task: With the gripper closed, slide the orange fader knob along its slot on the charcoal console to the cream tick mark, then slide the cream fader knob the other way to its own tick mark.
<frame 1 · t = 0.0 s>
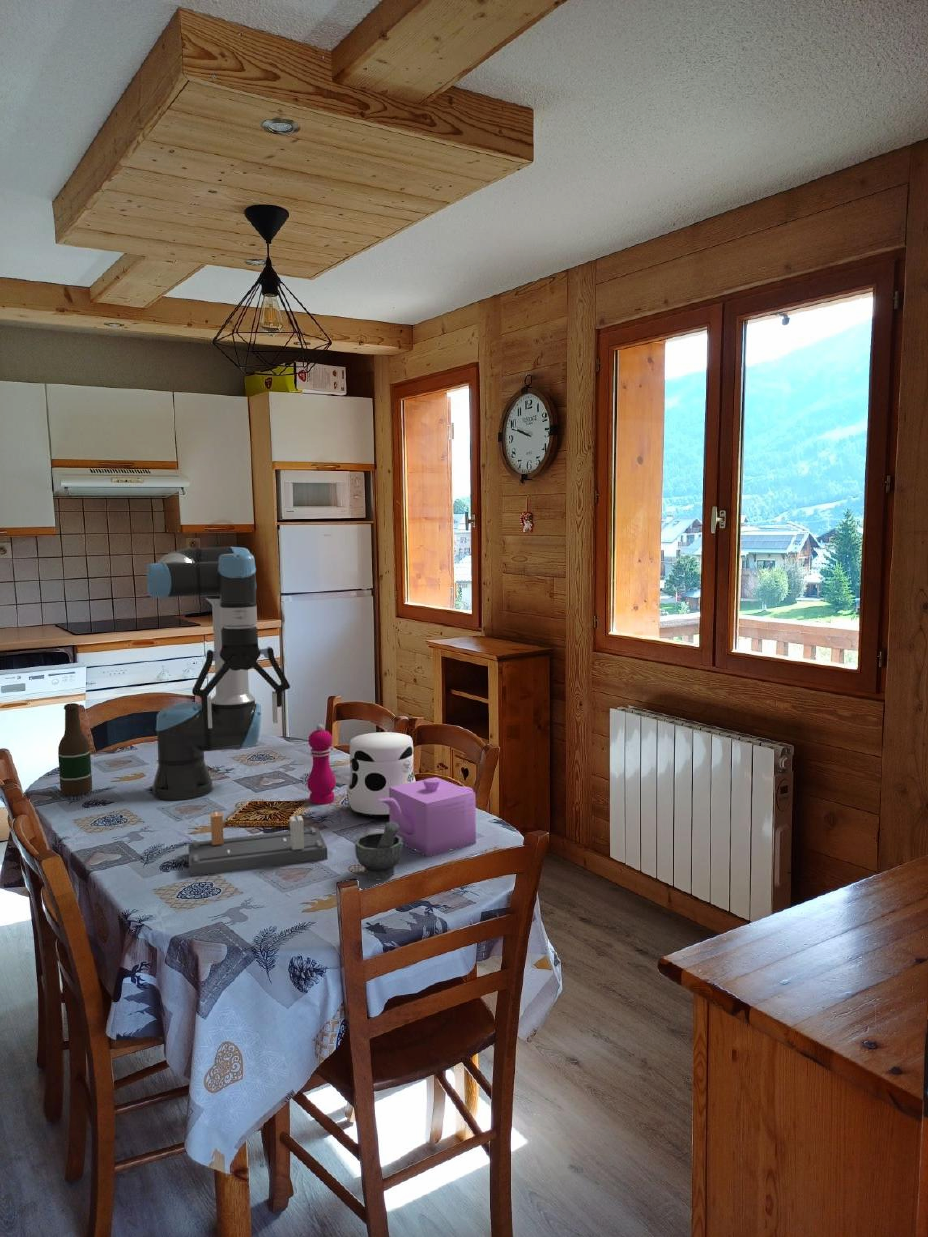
hand: (243, 724, 191), 28 cm above the table, tool pointing down, fingers open, 13 cm apart
teapot: (428, 842, 198), on the table
mortar and pestle: (381, 875, 180), on the table
orange fader: (216, 828, 191), point 6 cm above the table, slide at -8.0 cm
pepper mill: (322, 801, 228), on the table
console: (257, 856, 190), on the table
beer bottle: (76, 793, 237), on the table
cow-print canister: (382, 811, 219), on the table
cream fader: (296, 832, 188), point 6 cm above the table, slide at 8.0 cm
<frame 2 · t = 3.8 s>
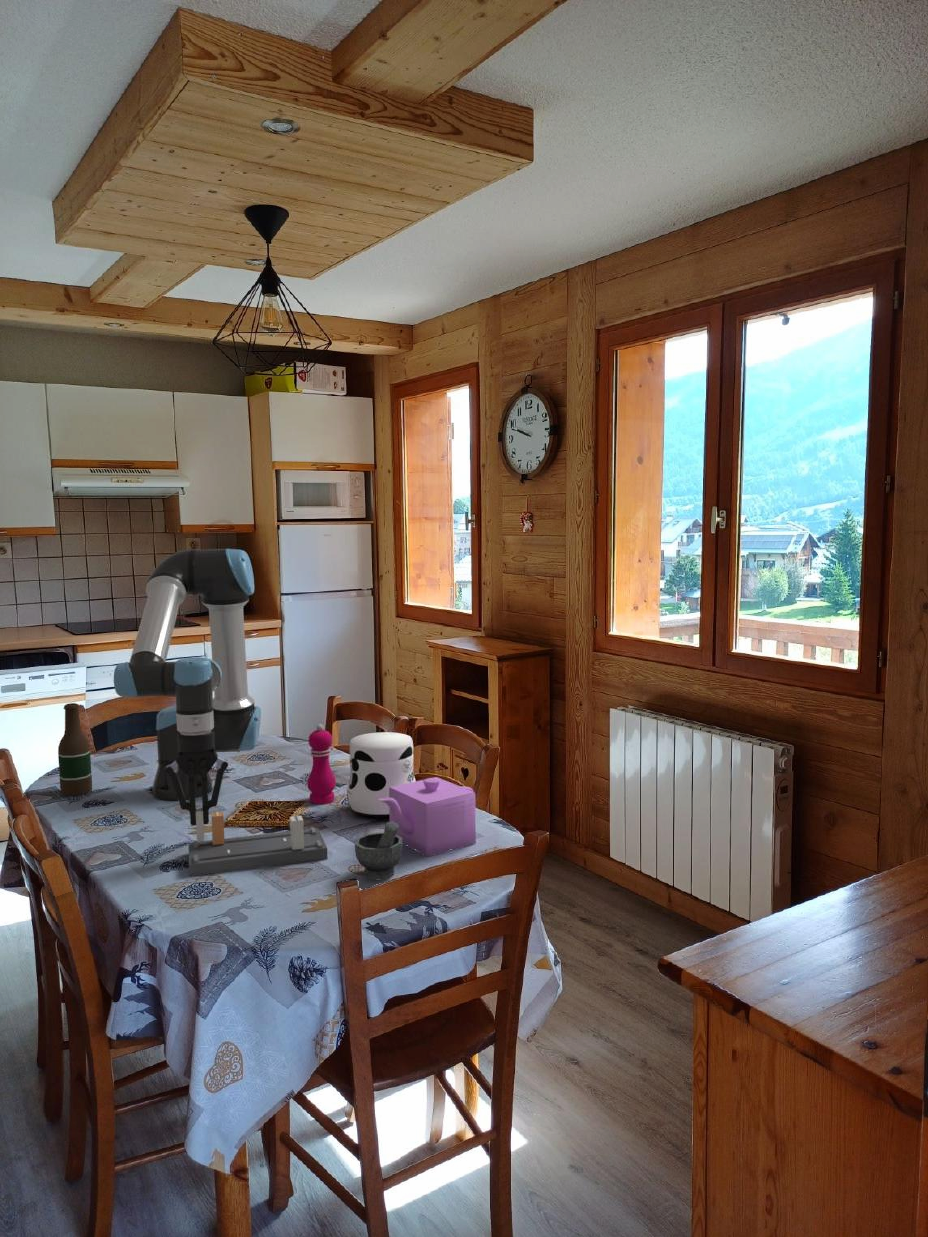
hand: (200, 839, 190), 4 cm above the table, tool pointing down, fingers closed
orange fader: (217, 827, 191), point 6 cm above the table, slide at -7.8 cm, touching gripper
everything else where it was.
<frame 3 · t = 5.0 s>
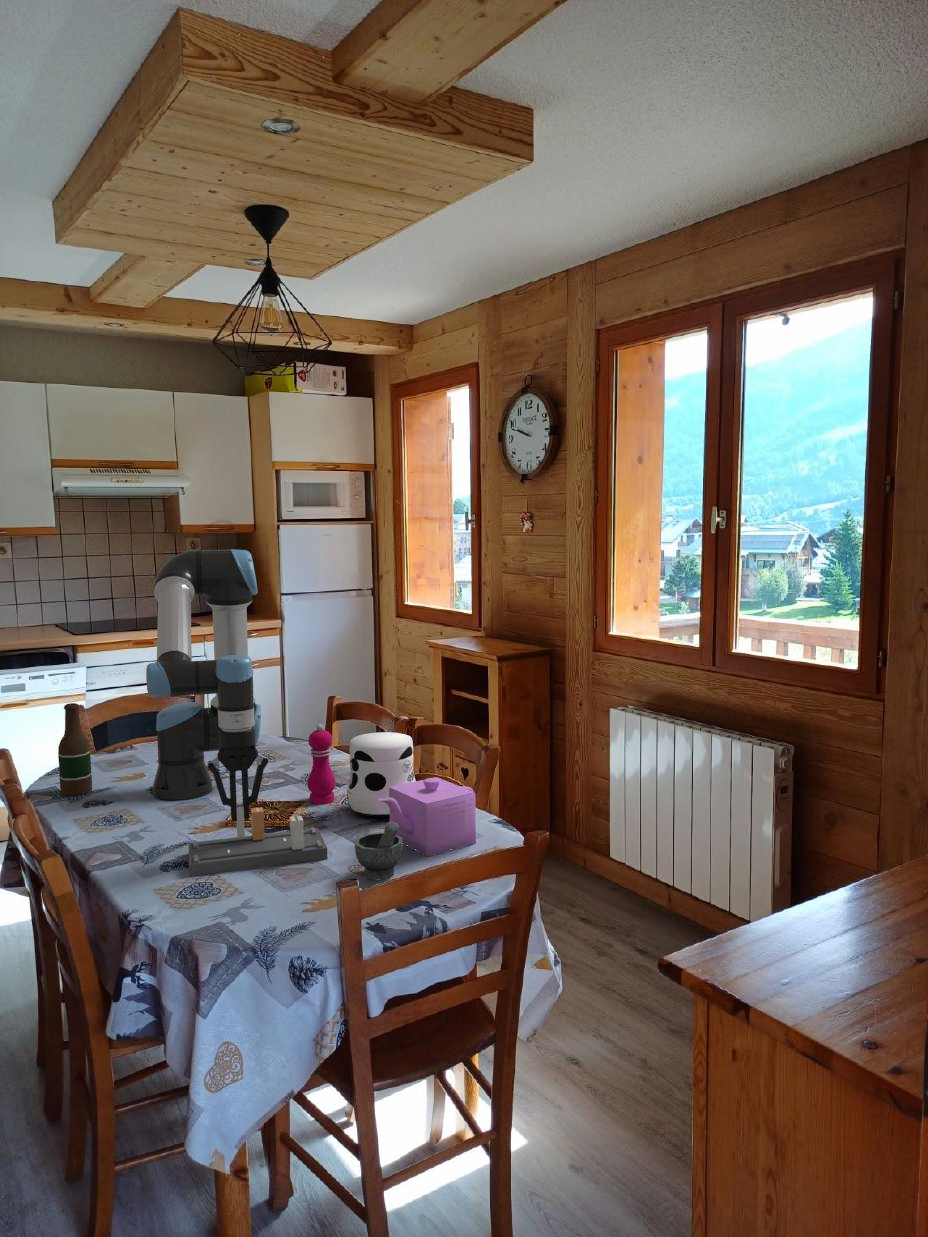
hand: (240, 834, 193), 4 cm above the table, tool pointing down, fingers closed
orange fader: (257, 823, 194), point 6 cm above the table, slide at 0.6 cm, touching gripper
everything else where it was.
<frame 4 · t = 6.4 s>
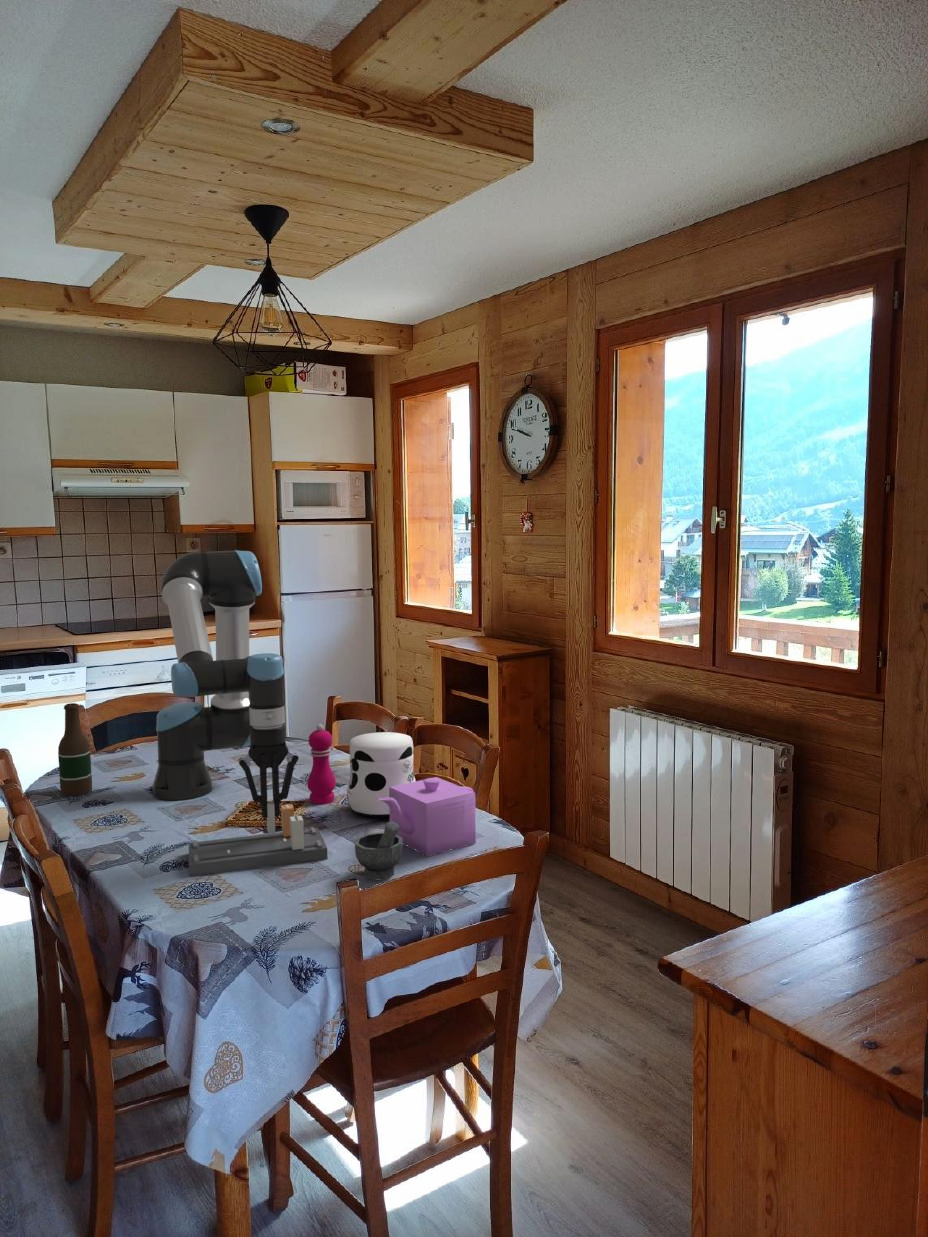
hand: (271, 831, 195), 4 cm above the table, tool pointing down, fingers closed
orange fader: (287, 820, 196), point 6 cm above the table, slide at 7.1 cm, touching gripper
everything else where it was.
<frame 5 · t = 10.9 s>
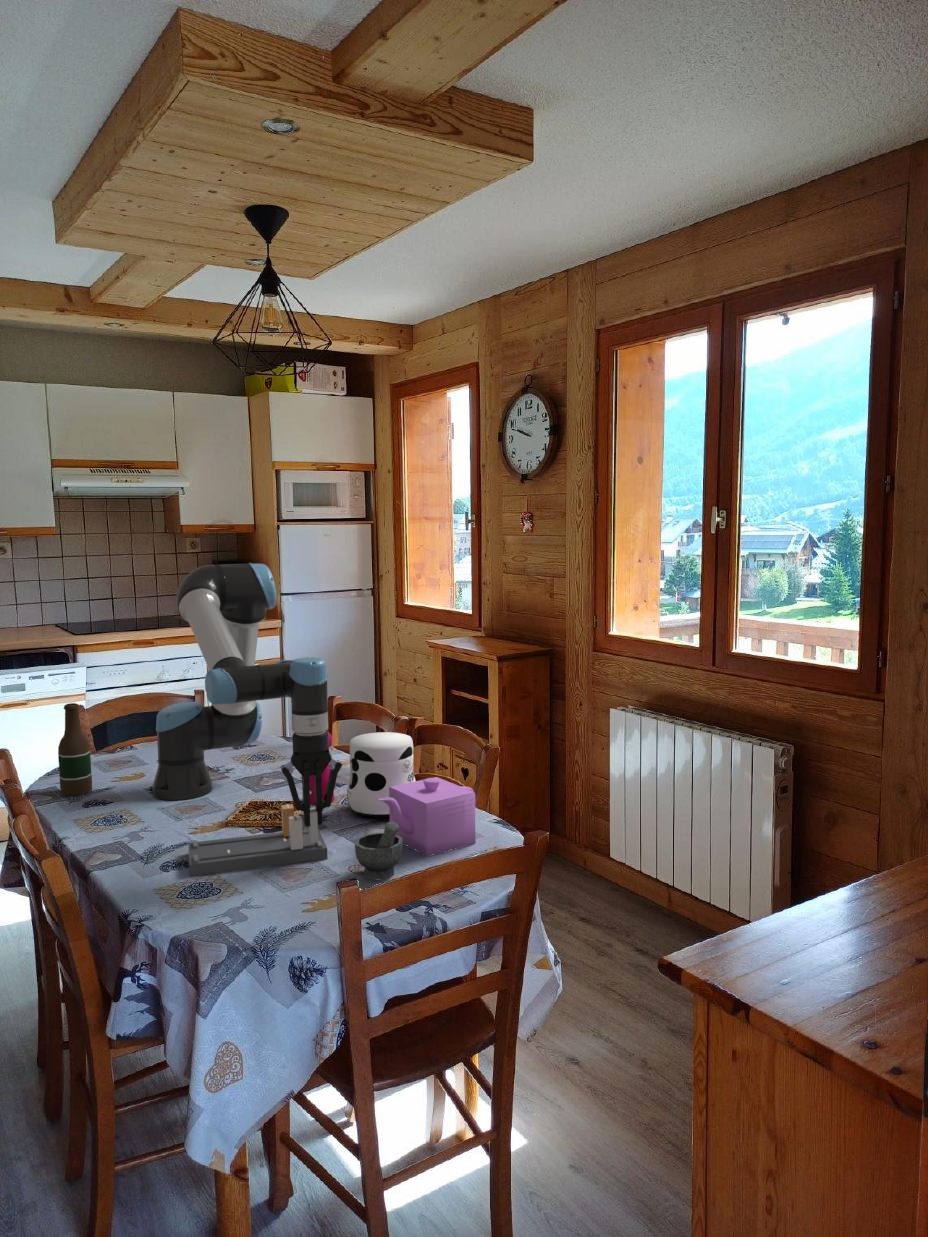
hand: (313, 840, 189), 4 cm above the table, tool pointing down, fingers closed
orange fader: (288, 820, 196), point 6 cm above the table, slide at 7.1 cm
cream fader: (295, 832, 188), point 6 cm above the table, slide at 7.7 cm, touching gripper
everything else where it was.
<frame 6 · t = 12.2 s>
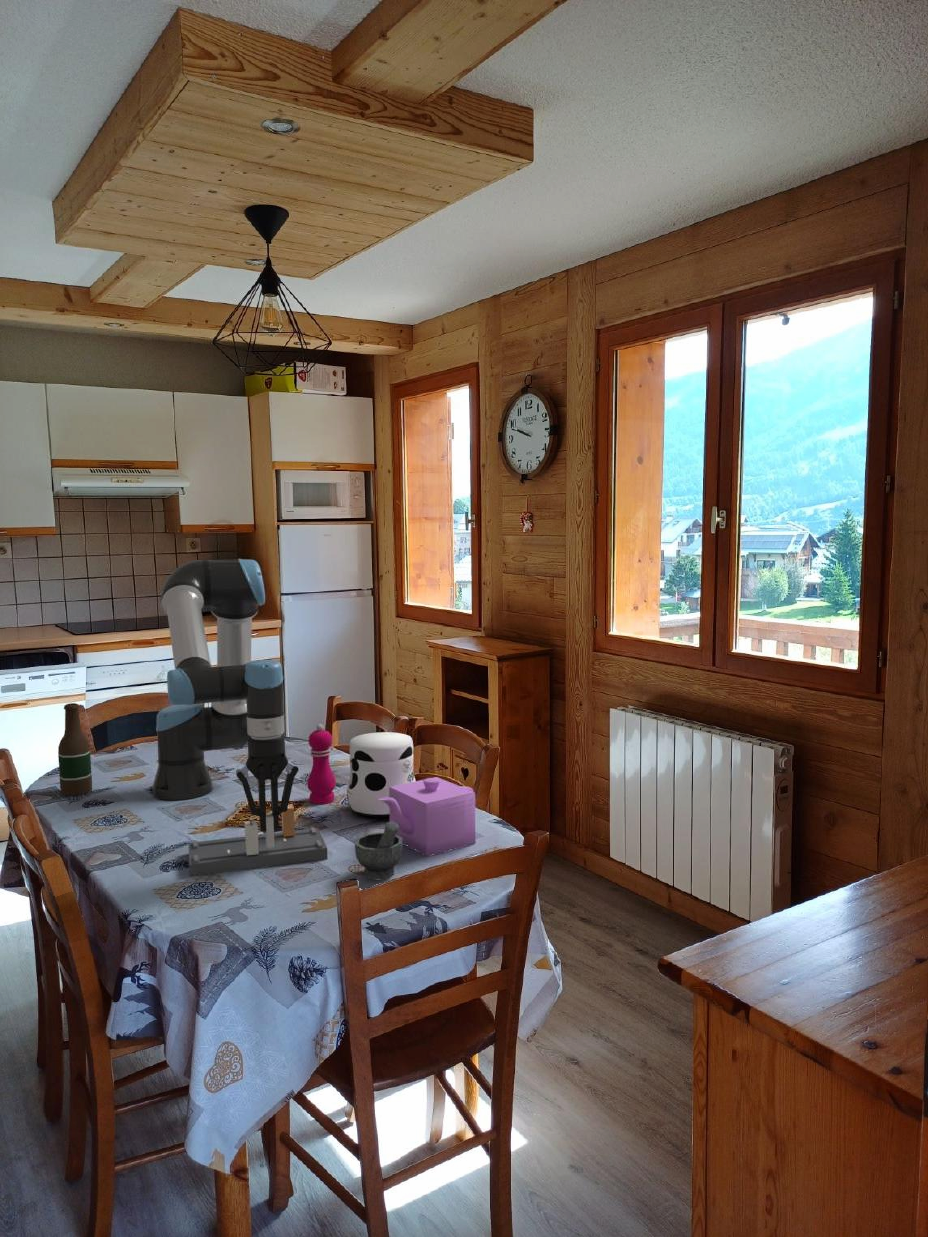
hand: (270, 845, 187), 4 cm above the table, tool pointing down, fingers closed
cream fader: (251, 837, 185), point 6 cm above the table, slide at -1.4 cm, touching gripper
everything else where it was.
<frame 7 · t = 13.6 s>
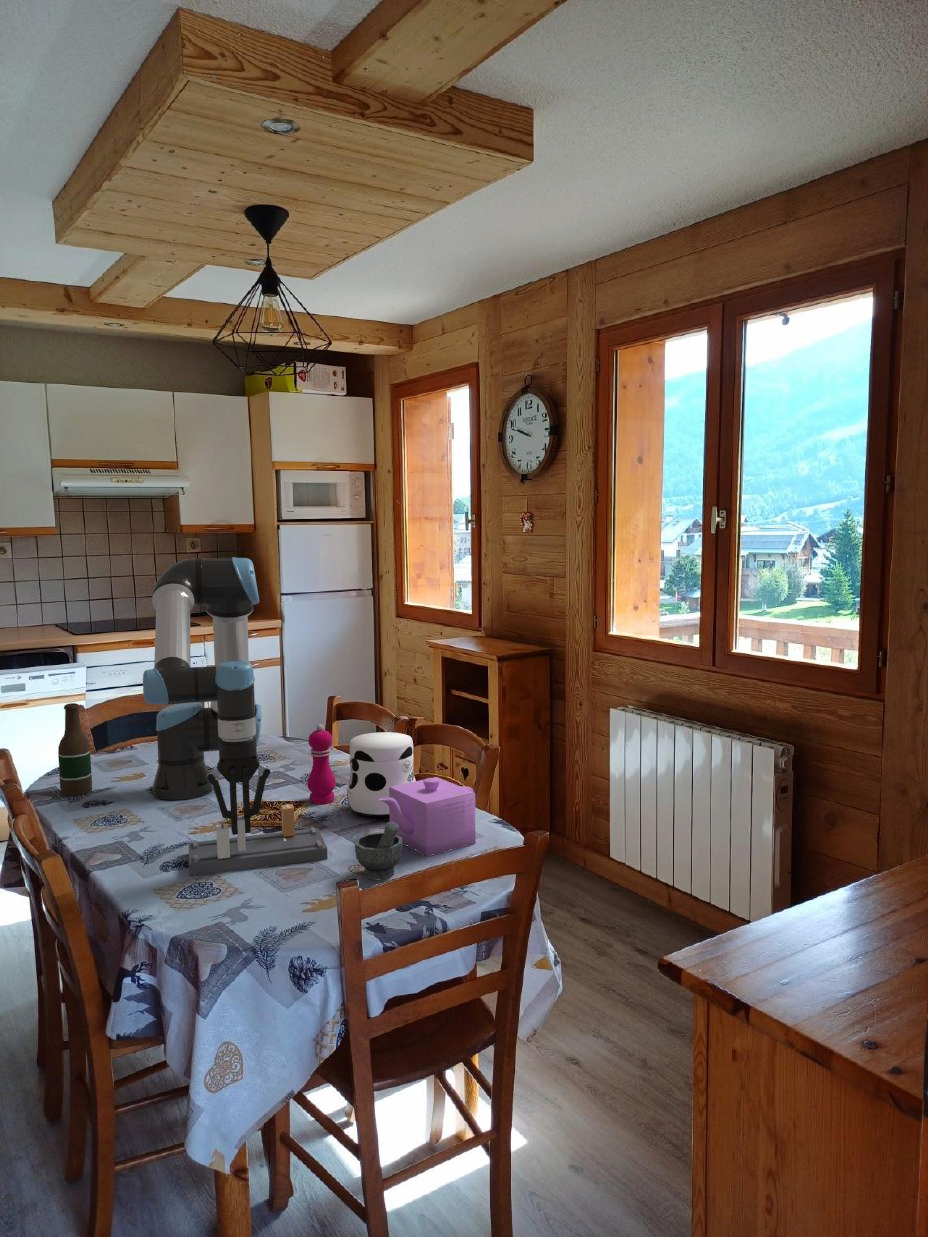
hand: (241, 848, 185), 4 cm above the table, tool pointing down, fingers closed
cream fader: (223, 841, 183), point 6 cm above the table, slide at -7.1 cm, touching gripper
everything else where it was.
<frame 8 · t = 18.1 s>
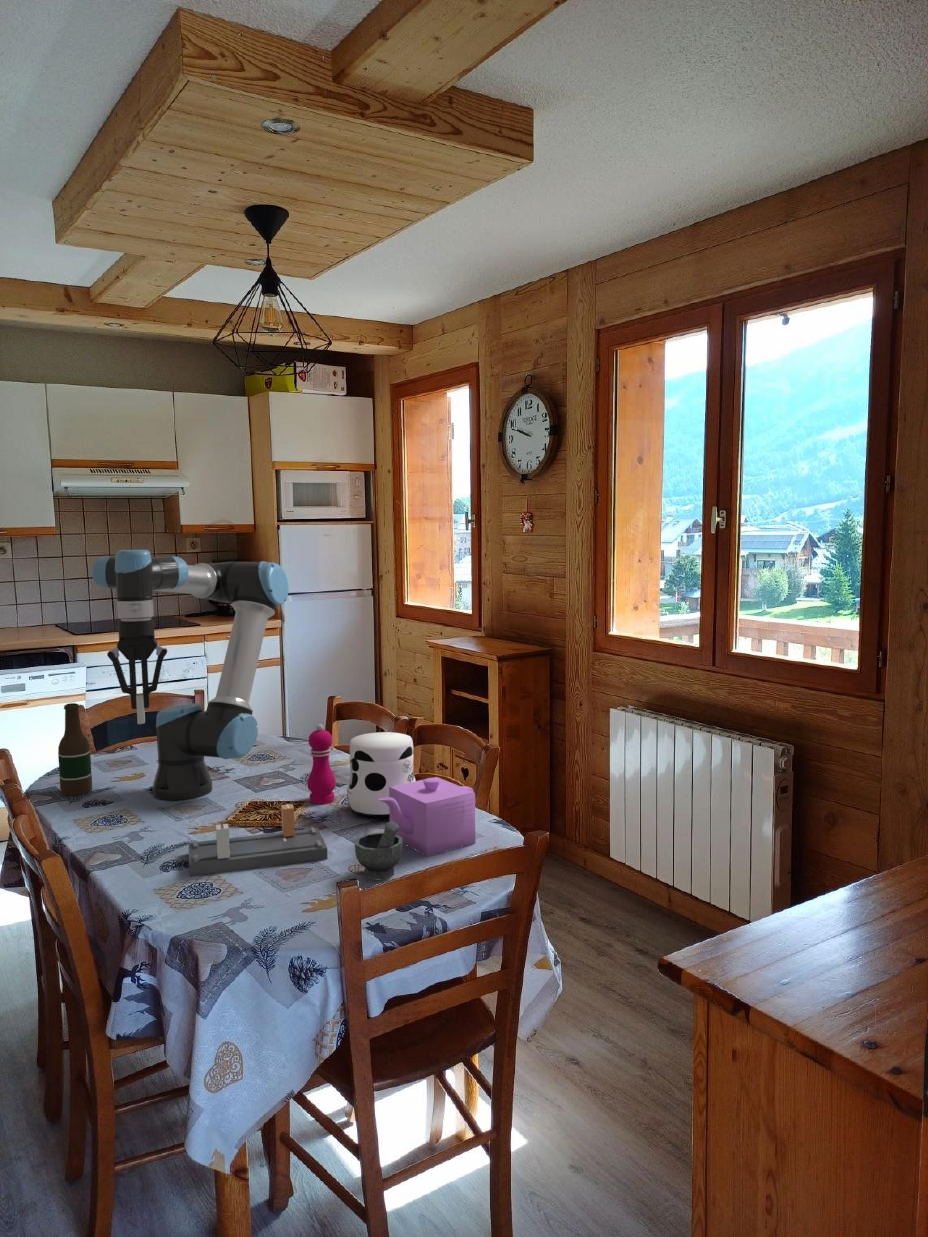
hand: (141, 722, 201), 26 cm above the table, tool pointing down, fingers closed
cream fader: (222, 841, 183), point 6 cm above the table, slide at -7.2 cm
everything else where it was.
at the end: orange fader slide at 7.1 cm; cream fader slide at -7.2 cm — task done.
